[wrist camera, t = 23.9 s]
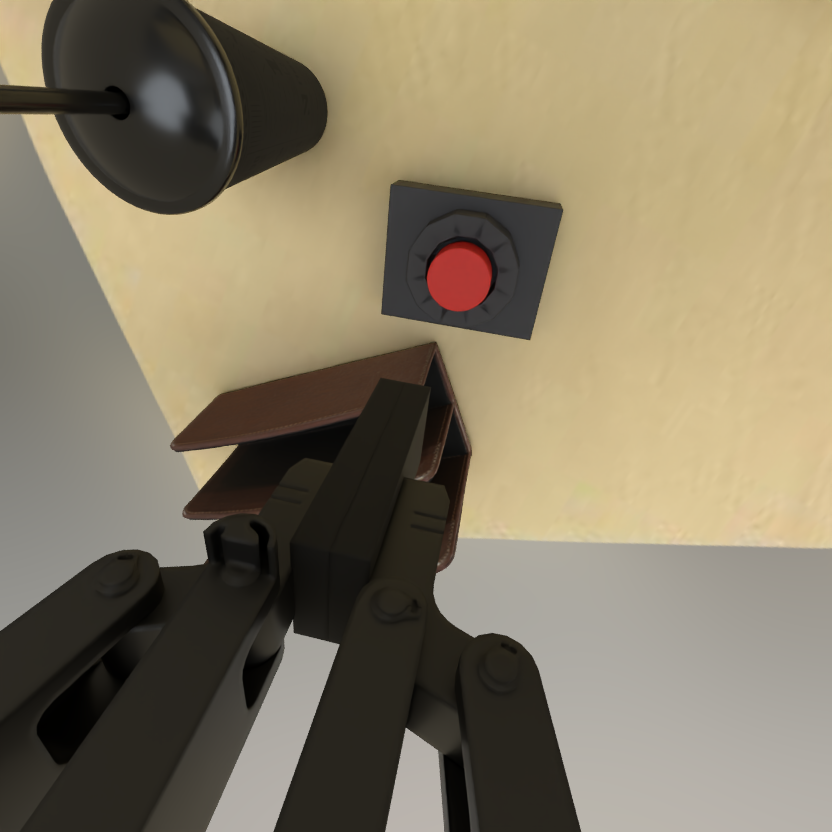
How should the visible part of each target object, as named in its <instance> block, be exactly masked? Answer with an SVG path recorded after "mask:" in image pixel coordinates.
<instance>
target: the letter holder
mask: <svg viewBox="0 0 832 832" xmlns="http://www.w3.org/2000/svg"><path fill="white" fill-rule="evenodd" d="M380 378H386V379H391V380H396V381H401V382H407V383H412V384H417V385H423V386H428V387H431V389H430V396H429V403H428V410H427V417H426V424H425V431H424V438H423V445H422V452H421V459H420V464H419V467H418V470H417V473H416V477H415V479H416V480H421V481H425V482H430V483H435V484H440V485H444V486H445V489H446V492H447V495H448V497H449V500H450V504H449V509H448V514H447V519H446V524H445V529H444V534H443V540H442V545H441V550H440V555H439V560H438V565H437V570H436V573H438V572H440V571H442V570H443V569H445V568H447V567H448V566H449V565H450V563H451V562H452V560H453V559H454V555H455V551H456V545H457V539H458V532H459V527H460V520H461V513H462V506H463V498H464V493H465V486H466V481H467V475H468V469H469V464H470V458H471V456H472V450H471V446H470V443H469V439H468V436H467V433H466V430H465V427H464V424H463V421H462V418H461V415H460V412H459V408H458V405H457V402H456V400H455V397H454V393H453V390H452V387H451V384H450V381H449V378H448V375H447V372H446V369H445V365H444V363H443V360H442V357H441V354H440V351H439V349H438V346H437V343H436V342H435V343H429V344H426V345H421V346H418V347H413V348H409V349H405V350H401V351H396V352H393V353H388V354H384V355H381V356H376V357H372V358H367V359H364V360H359V361H356V362H351V363H347V364H343V365H338V366H335V367H330V368H326V369H322V370H318V371H313V372H310V373H305V374H300V375H297V376H293V377H288V378H285V379H281V380H276V381H273V382H269V383H264V384H260V385H257V386H252V387H249V388H245V389H241V390H237V391H233V392H228V393H223V394H220V395H218V396H217V397H216V398H215V399H214V400H213V401H212V402H211V403H210V404H209V405H208V406H207V407H206V408H205V409H204V410H203V411H202V412H201V413H200V414H199V415H198V416H197V417H196V418H195V419H194V420H193V421H192V422H191V423H190V424H189V425H188V426H187V427H186V428H185V429H184V430H183V431H182V432H181V433H180V434H179V435H178V436H177V437H176V438H175V439H174V440H173V441H172V443H171V445H170V447H171V449H172V450H175V451H176V452H184V451H191V450H202V449H209V448H216V447H222V446H229V445H236V444H238V446H237V448H236V449H235V450H234V451H233V453H232V454H231V455H230V456H229V458H228V459H227V460H226V461H225V462H224V463H223V465H222V466H221V467H220V468H219V469H218V470H217V471H216V473H215V474H214V475H213V476H212V477H211V478H210V479H209V481H208V482H207V483H206V484H205V485H204V486H203V487H202V488H201V490H200V491H199V492H198V493H197V494H196V495H195V497H193V499H192V500H191V501H190V502H189V503H188V504H187V505H186V506H185V508H184V510H183V517H185V518H187V519H190V520H213V519H214V520H217V519H221V518H223V517H226V516H229V515H234V514H239V513H248V514H257V515H258V514H259V513H260V511H261V510H262V508H263V507H264V505H265V504H266V502H267V501H268V499H269V498H271V495H272V493H273V492H274V490H275V489H276V487H277V486H279V483H280V481H281V480H282V478H283V477H284V475H285V474H286V472H287V471H288V469H289V468H291V467H292V466H294V465H295V464H297V463H298V462H300V461H301V460H303V459H304V458H309V459H314V460H319V461H323V462H328V463H334V461H335V459H336V457H337V456H338V454H339V452H340V450H341V448H342V446H343V445H344V443H345V441H346V439H347V437H348V436H349V434H350V432H351V430H352V428H353V427H354V425H355V423H356V421H357V419H358V418H359V416H360V414H361V412H362V410H363V409H364V407H365V405H366V403H367V401H368V400H369V398H370V396H371V394H372V392H373V390H374V389H375V387H376V385H377V383H378V381H379V380H380ZM206 563H209V561H208V559H207V560H206V562H205V563H204V564H206Z"/></svg>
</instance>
